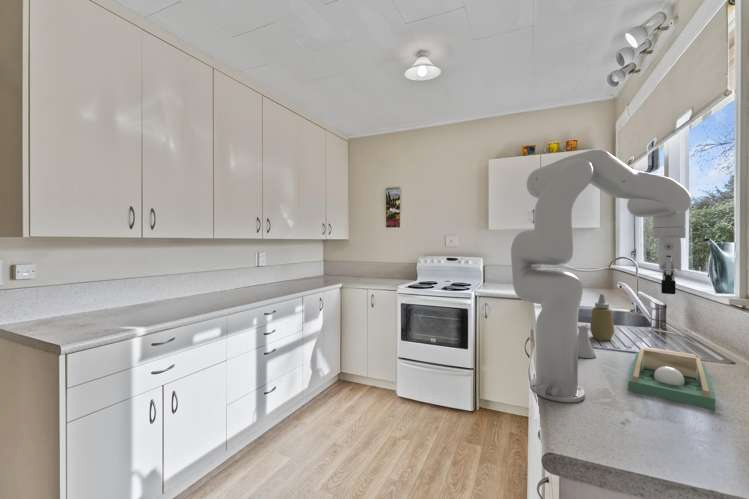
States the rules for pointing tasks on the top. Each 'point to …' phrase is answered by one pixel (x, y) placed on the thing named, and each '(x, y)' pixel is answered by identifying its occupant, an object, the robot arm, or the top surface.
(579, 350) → the flask
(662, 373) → the ball
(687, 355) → the tan wooden block
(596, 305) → the squeeze bottle
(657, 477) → the top surface
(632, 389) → the putting mat
